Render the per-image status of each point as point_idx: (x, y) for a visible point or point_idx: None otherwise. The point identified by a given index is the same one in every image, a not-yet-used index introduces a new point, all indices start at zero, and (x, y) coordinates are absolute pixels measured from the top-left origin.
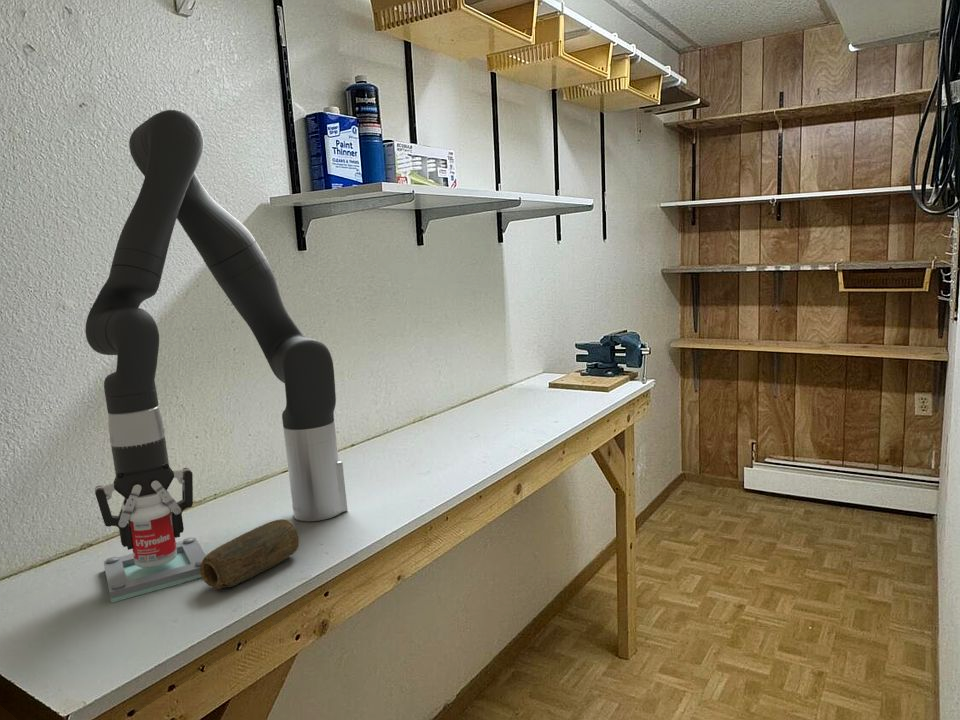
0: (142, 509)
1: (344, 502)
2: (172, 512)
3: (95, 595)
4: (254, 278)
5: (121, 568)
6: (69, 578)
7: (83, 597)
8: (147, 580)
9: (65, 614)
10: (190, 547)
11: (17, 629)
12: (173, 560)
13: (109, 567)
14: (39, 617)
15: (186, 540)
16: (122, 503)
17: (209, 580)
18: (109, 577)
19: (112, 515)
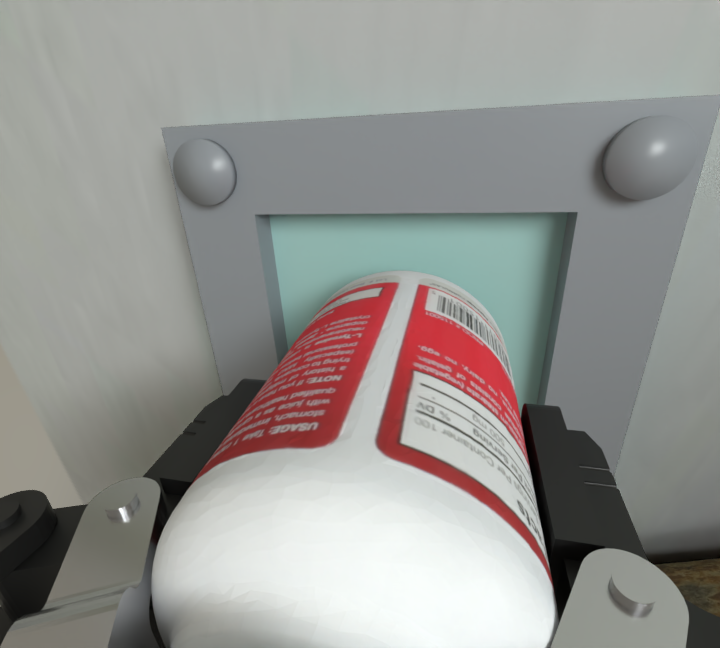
0: None
1: None
2: (560, 597)
3: (204, 370)
4: None
5: (260, 307)
6: (61, 115)
7: (170, 358)
8: None
9: (150, 433)
10: (609, 272)
11: (60, 430)
12: (490, 294)
13: (207, 252)
14: (87, 402)
15: (632, 165)
16: (3, 641)
17: None
18: (225, 365)
19: (24, 570)
